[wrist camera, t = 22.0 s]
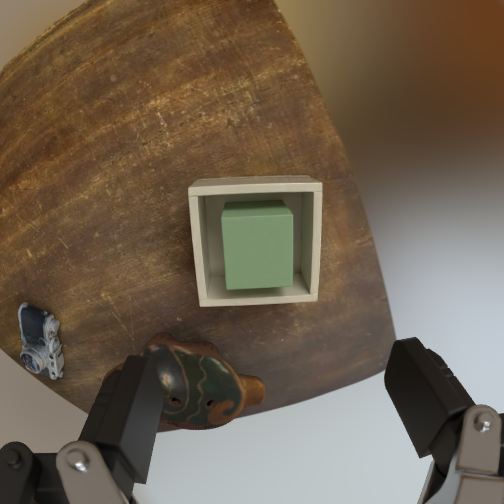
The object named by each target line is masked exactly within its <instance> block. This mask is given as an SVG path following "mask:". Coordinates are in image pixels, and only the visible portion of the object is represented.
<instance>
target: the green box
mask: <svg viewBox="0 0 504 504" xmlns="http://www.w3.org/2000/svg"><path fill="white" fill-rule="evenodd" d="M221 229H222V243H223V256H224V269H225V281H226V289H227V290H233V289H253V288H271V287H288V286H292V285H293V214H292V213H291V211H290V210H289V209H288V207H287V206H286V204H285V203H284V202H283V200H262V201H240V202H225V204H224V208H223V212H222V216H221Z"/></svg>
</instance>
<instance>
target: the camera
mask: <svg viewBox="0 0 504 504" xmlns="http://www.w3.org/2000/svg"><path fill="white" fill-rule="evenodd" d="M18 318H19V321H18V322H19V327H20V337H21V340H22V352H21V360H22V362H23V363H24V365H25V366H26V368H27V369H28V370H30V371H31V372H33V373H41V374H43V375H45V376H47V377H49V378H51V379H53V380H54V379H57V376H58V377H61V378H62V376H63V371H61V369H62V367H63V365H64V358H63V353H62V352H61V346H62V345H61V343H60V341H59V340H58V335H57V331H58V329H59V321H58V320H55V317H54V315H53V314H51V313H49V312H46V311H44V310H42V309H40V308H37V307H35V306H33V305H31V304H29V303H26V302H24V303H22V304H21V305H20V307H19V310H18Z"/></svg>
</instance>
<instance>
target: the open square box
mask: <svg viewBox="0 0 504 504" xmlns="http://www.w3.org/2000/svg"><path fill="white" fill-rule="evenodd" d="M188 196H189V210H190V222H191V232H192V242H193V252H194V262H195V271H196V279H197V288H198V296H199V303H200V307H208V306H237V305H260V304H278V303H295V302H309V301H317V298H318V284H319V267H320V248H321V222H322V183H321V182H319V181H317V180H315V179H313V178H311V177H310V176H308V175H280V176H246V177H224V178H207V179H197V180H196V181H195V182H194V183H193V184H192V185H191V186H190V187H188ZM262 200H283V202H284V203H285V204H286V206H287V207H288V209H289V210H290V211H291V213H292V214H293V285H292V286H288V287H271V288H253V289H233V290H227V289H226V281H225V269H224V256H223V243H222V229H221V216H222V212H223V208H224V204H225V202H240V201H262Z"/></svg>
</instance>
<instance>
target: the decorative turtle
mask: <svg viewBox="0 0 504 504" xmlns="http://www.w3.org/2000/svg"><path fill="white" fill-rule="evenodd" d="M138 356H151V357H152V358H153V360H154V363H155V366H156V370H157V373H158V376H159V380H160V383H161V386H162V390H163V406H162V411H161V415H160V419H159V421H160V422H162V423H164V424H167V425H170V426H173V427H176V428H181V429H188V430H207V429H213V428H217V427H220V426H223V425H225V424H227V423H229V422H230V421H232V420H233V419H234V418H235V417H236V416H237V415H238V414H239V413H240V411H241V410H242V409H244V408H247V407H252V406H257V405H260V404H261V403H262V402H263V400H264V397H265V387H264V384H263V382H262V380H261V379H260V378H258V377H255V376H249V375H242V374H236V373H235V371H234V370H233V368H232V367H231V366H230V365H229V364H228V363H227V362H226V361H225V360H224V359H223V358H222V357H221V356H220V355H219V352H218V350H217V348H216V347H215V346H214V345H213V344H212V343H210V342H196V343H187V342H180V341H176V340H175V338H174V337H173V336H172V335H171V334H170V333H169V334H168V333H166V332H160V333H158V334H157V335H155V336H154V337H153V338H152V339H151V341H150V342H149V343H148V344H147V345H146V346H145V347H144V348H143V350H142V351H141V352H140V354H139V355H138ZM124 364H125V362H124V363H122V364H120V365H118V366H116V367H115V368H113V369H112V370H111V371H109V372H108V373H107V374H106V375H105V377H104V379H103V382H104V380H105V378H106V377H107V376H108V375H110V374H111V373H112V372H113V371H114V370H115V369H118V370H122V368H123V366H124ZM103 382H102V384H103Z"/></svg>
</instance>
